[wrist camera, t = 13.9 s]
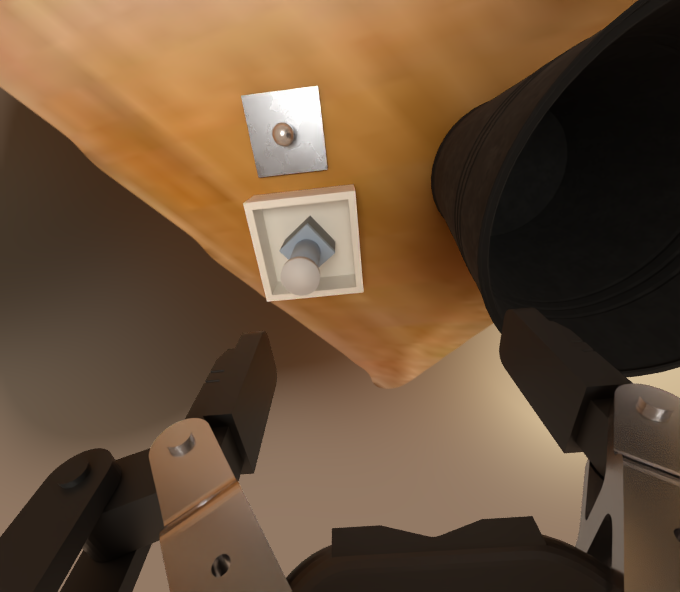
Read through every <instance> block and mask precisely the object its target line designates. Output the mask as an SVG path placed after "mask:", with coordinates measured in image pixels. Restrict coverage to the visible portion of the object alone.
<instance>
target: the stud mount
mask: <svg viewBox="0 0 680 592" xmlns="http://www.w3.org/2000/svg"><path fill="white" fill-rule="evenodd" d="M241 98H242V103H243V107H244V112H245V117H246V121H247V126H248V131H249V135H250V140H251V145H252V149H253V154H254V159H255V164H256V168H257V173H258V177H267V176H276V175H284V174H293V173H302V172H310V171H319V170H327V169H328V166H327V158H326V149H325V141H324V132H323V124H322V115H321V106H320V98H319V89H318V86H313V87H305V88H297V89H290V90H282V91H274V92H266V93H259V94H251V95H243V96H241Z"/></svg>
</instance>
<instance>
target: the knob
mask: <svg viewBox="0 0 680 592" xmlns="http://www.w3.org/2000/svg"><path fill="white" fill-rule="evenodd" d="M280 252H281V253H282V254H283V255H284V256H285V257H286V258H287V259H288V261H287V262H286V263H285V264H284V266H283V268H282V271H281V282H282V285H283V286H284V288H285V289H286V290H287V291H289V292H290V293H292V294H295V295H300V296H303V295H308V294H310V293H312V292H314V291H315V290H316V289H317V287H318V285H319V282H320V270H319V267H320V266H321V265H322V264H323V263H324V262H326V261H327V260H328V259H329V258H330V257H331V256H332V255H333V254H335V240H334V239H333V238H332V237H331V236H330V235H329V234H328V233H327V232H326V231H325V230H324V229H323V228H322V227H321V226H320V225H319V224H318V223H317V222H316V221H315V220H314V219H313V218H312V217H311V216H309V217H308V218H307V219H306V220H305V221H304V222H303V223H302V224H301V225H300V226H299V227H297V228H296V229H295V230H294V231H293V232H292V233H291V234H290V235H289V236H288V237H287V238H286V239H285V241H284V243H283V245H282V247H281V249H280Z"/></svg>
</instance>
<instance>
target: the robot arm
mask: <svg viewBox="0 0 680 592" xmlns="http://www.w3.org/2000/svg"><path fill="white" fill-rule="evenodd" d="M499 353H500V359H501V362H502V364H503V366H504V368H505V369H506V370H507V372H508V373H509V375H510V376H511V378H512V379H513V381H514V382H515V383H516V385H517V386H518V388H519V389H520V391H521V392H522V393H523V395H524V396H525V398H526V399H527V401H528V402H529V404H530V405H531V406H532V408H533V409H534V411H535V412H536V414H537V415H538V416H539V418H540V419H541V421H542V422H543V424H544V425H545V426H546V428H547V429H548V431H549V432H550V434H551V435H552V437H553V438H554V439H555V441H556V442H557V444H558V445H559V447H560V448H561V449H562V451H563V452H564V453H575V452H584V454H585V455H586V456H587V458H588V460H587V463H586V466H585V475H584V486H583V497H582V507H581V518H580V527H579V533H578V539H577V542H576V546H575V547H574V546H572V545H570V544H568V543H566V542H563V541H561V540H558V539H555V538H552V537H549V536H546V535H542V534H541V532H540V531H539V528H538V526H537V524H536V523H535V521H534V519H533V517H532V516H528V517H512V518H495V519H482V520H479V521H476V522H474V523H472V524H469V525H466V526H464V527H461V528H459V529H456V530H453V531H451V532H448V533H446V534H443V535H441V536H437V537H428V536H423V535H420V534H415V533H411V532H406V531H402V530H398V529H393V528H389V527H385V526H363V527H347V528H333V529H332V545H330V546H328V547H326V548H323V549H321V550H319V551H317V552H316V553H314V554H312V555H311V556H309V557H308V558H307V559H305V560H304V561H303V562H301V563H300V564H299V565H298V566H297V567H296V568H295V569H294V570H293V571H292V572H291V573H290V574H289V575H288V576H287V577H285V575H284V574H283V571H282V569H281V567H280V565H279V563H278V561H277V559H276V557H275V555H274V553H273V551H272V549H271V547H270V545H269V543H268V541H267V539H266V537H265V535H264V533H263V531H262V529H261V527H260V525H259V523H258V521H257V519H256V517H255V515H254V513H253V511H252V509H251V507H250V504H249V502H248V501H247V499H246V496H245V494H244V493H243V491H242V488H241V486H240V484H239V482H238V481H239V478H240V474H252V473H254V471H255V467H256V463H257V459H258V455H259V451H260V447H261V443H262V439H263V435H264V431H265V427H266V423H267V419H268V415H269V411H270V407H271V403H272V398H273V395H274V391H275V387H276V381H277V373H276V365H275V361H274V357H273V353H272V350H271V346H270V342H269V338H268V335H267V333H266V332H265V331H261V332H251V333H243V334H242V335H241V337H240V339H239V341H238V343H237V345H236V347H235V349H228V350H227V351H226V352H224V353H223V354H222V355H221V356H220V357H219V358H218V359H217V360H216V362H215V364H214V366H213V368H212V369H211V373H210V374H209V375H208V377H207V379H206V383H204V384H203V386H202V388H201V390H200V392H199V394H198V396H197V397H196V400H195V401H194V403H193V405H192V407H191V409H190V411H189V413H188V414H187V416H186V418H185V420H182V421H179V422H177V423H175V424H173V425H171V426H170V427H168V428H167V429H166V430H164V431H163V432H162V433H161V434H160V435H159V436H158V437H157V438H156V440H155V441H154V442H153V444H152V446H151V448H149V449H147V450H144V451H141V452H138V453H135V454H132V455H129V456H126V457H123V458H121V459H118V460H115V459H114V457H113V456H112V454H111V453H110V452H109V451H108V450H106V449H101V448H98V449H91V450H88V451H84V452H82V453H80V454H78V455H76V456H74V457H72V458H70V459H69V460H67V461H66V462H64V463H63V464H61V465H60V466H59V467H58V468H57V469H55V470H54V471H53V472H52V473H51V474H50V475H49V476H48V477H47V479H46V480H45V481H44V482H43V484H42V485H41V486H40V487H39V489H38V490H37V491H36V492H35V494H34V495H33V496H32V497H31V499H30V500H29V501H28V503H27V504H26V505H25V506H24V508H23V509H22V510H21V511H20V513H19V514H18V515H17V517H16V518H15V519H14V520H13V522H12V523H11V524H10V525H9V527H8V528H7V529H6V531H5V532H4V533H3V534H2V536H1V537H0V592H58V590H59V588H60V586H61V584H62V583H63V581H64V579H65V577H66V576H67V574H68V572H69V570H70V569H71V567H72V565H73V563H74V561H75V560H76V558H77V556H78V554H79V553H80V551H81V549H83V552H82V554H81V555H80V557H79V559H78V561H77V562H76V564H75V566H74V568H73V570H72V571H71V573H70V575H69V577H68V578H67V580H66V582H65V584H64V586H63V587H62V589H61V591H60V592H132V591H133V589H134V586H135V584H136V581H137V579H138V576H139V574H140V571H141V569H142V567H143V564H144V561H145V559H146V556H147V554H148V552H149V549H150V547H151V544H152V543H154V542H156V541H159V540H160V546H161V551H162V555H163V560H164V565H165V570H166V575H167V580H168V584H169V589H170V592H680V398H679V397H677V396H675V395H673V394H671V393H669V392H667V391H664V390H662V389H659V388H655V387H652V386H648V385H643V384H633V383H632V382H631V381H630V380H628V379H627V378H626V377H625V376H624V375H623V374H621V373H620V372H619V371H618V370H617V369H616V368H614V367H613V366H612V365H611V364H610V363H609V362H607V361H606V360H605V359H604V358H603V357H602V356H601V355H599V354H598V353H597V352H596V351H593V349H592V348H591V347H590V346H589V345H588V344H587V343H585V342H583V341H582V339H581V338H580V337H578V336H577V335H576V334H575V333H574V332H573V331H571V330H570V329H568V328H566V327H564V326H562V325H560V324H558V323H556V322H554V321H549V320H548V319H547V318H546V317H544V316H543V315H542V314H541V313H540V312H539V311H538V310H537V309H535V308H533V307H531V308H520V309H509V310H507V311H506V313H505V316H504V321H503V328H502V335H501V340H500V348H499Z"/></svg>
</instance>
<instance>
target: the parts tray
mask: <svg viewBox="0 0 680 592" xmlns="http://www.w3.org/2000/svg"><path fill="white" fill-rule="evenodd" d="M243 205H244V209H245V213H246V217H247V221H248V225H249V229H250V233H251V238H252V242H253V246H254V250H255V254H256V258H257V262H258V266H259V270H260V275H261V279H262V283H263V287H264V291H265V295H266V299H267V302H268V301H279V300H289V299H299V298H310V297H320V296H330V295H341V294H351V293H361V292H363V279H362V267H361V255H360V243H359V231H358V218H357V206H356V194H355V188H354V184H351V185H343V186H334V187H325V188H316V189H307V190H298V191H289V192H281V193H272V194H263V195H254V196H252V197H251V198H250V199H248V200H247V201H246V202H244V203H243ZM309 216H311V217H312V218H313V219H314V220H315V221H316V222H317V223H318V224H319V225H320V226H321V227H322V228H323V229H324V230H325V231H326V232H327V233H328V234H329V235H330V236H331V237H332V238H333V239H334V240H335V254H333V255H332V256H331V257H330V258H329V259H328V260H327V261H326V262H324V263H323V264H322V265H321V266H320V267H319V270H320V282H319V285H318V287H317V289H316V290H315V291H314V292H312V293H310V294H308V295H303V296H300V295H295V294H292V293H290V292H289V291H287V290H286V289H285V288H284V286H283V285H282V282H281V271H282V268H283V266H284V264H285V263H286V262H287V261H288V259H287V258H286V257H285V256H284V255H283V254H282V253H281V252H280V249H281V247H282V245H283V243H284V241H285V239H286V238H287V237H288V236H289V235H290V234H291V233H292V232H293V231H294V230H295V229H296V228H297V227H299V226H300V225H301V224H302V223H303V222H304V221H305V220H306V219H307V218H308V217H309Z"/></svg>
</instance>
